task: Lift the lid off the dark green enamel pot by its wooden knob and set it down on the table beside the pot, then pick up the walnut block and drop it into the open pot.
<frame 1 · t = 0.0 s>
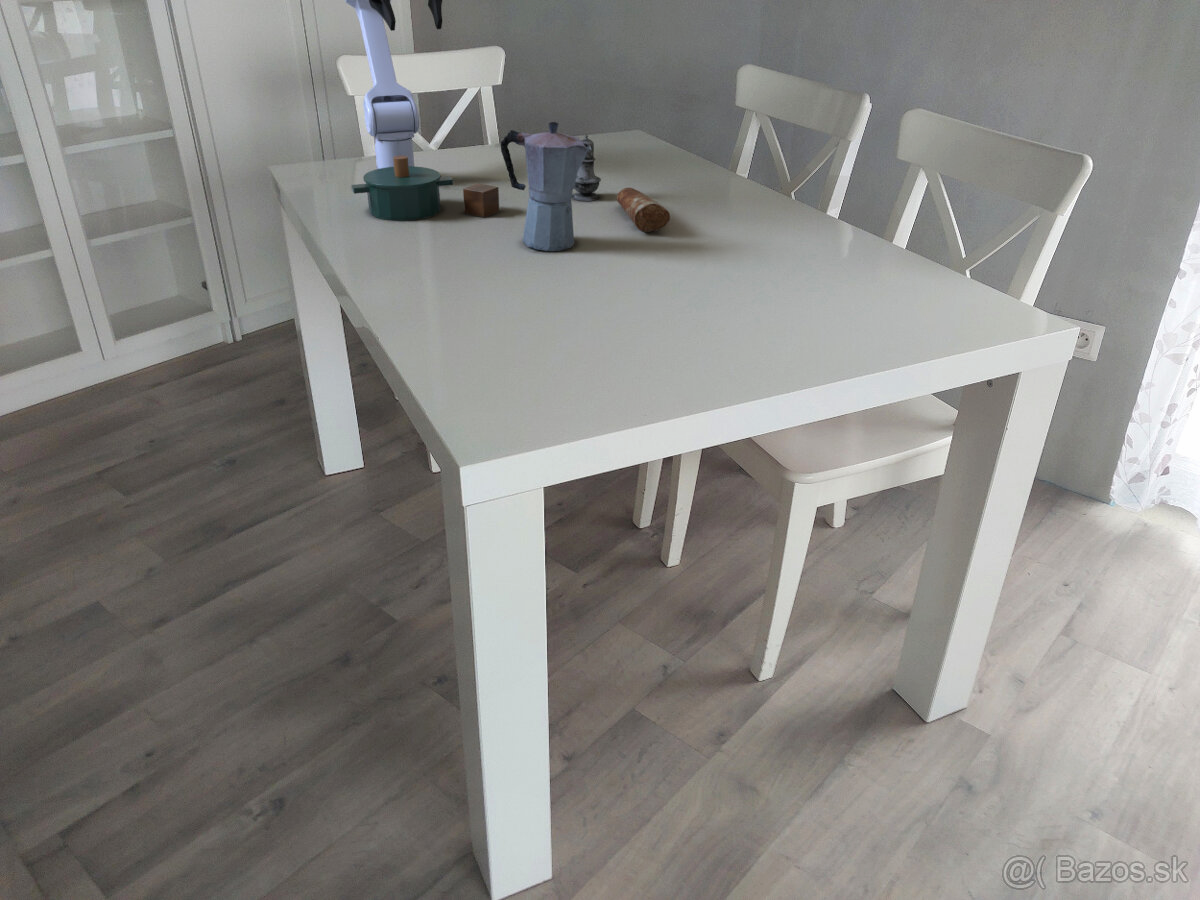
hand: (416, 25, 152), 32 cm above the table, tool tilted 50°, fingers open, 7 cm apart
pot: (405, 210, 174), on the table
moka pot: (546, 244, 159), on the table
salt shaker: (585, 198, 183), on the table
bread: (635, 221, 171), on the table
block: (481, 212, 173), on the table
lid: (402, 178, 171), point 6 cm above the table, touching pot
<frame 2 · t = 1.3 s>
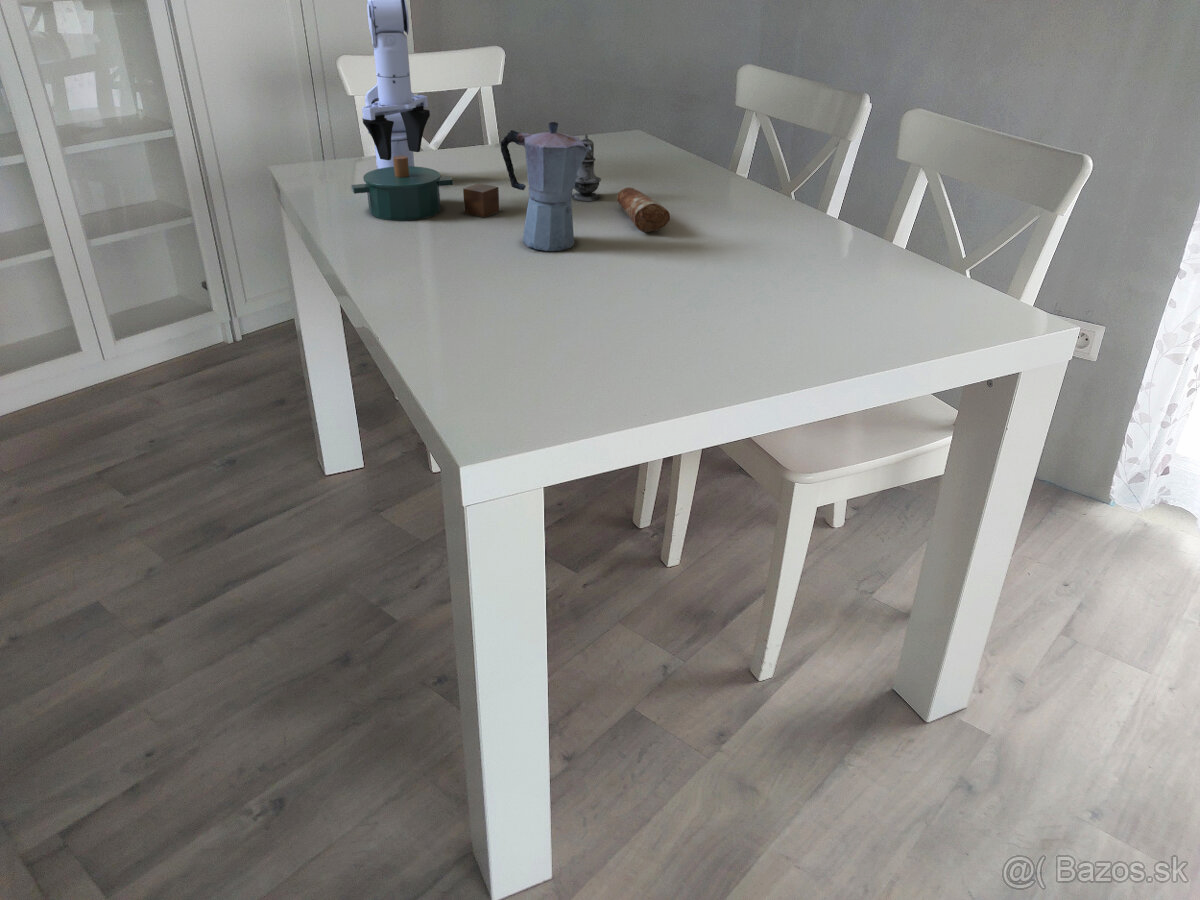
hand: (400, 155, 168), 10 cm above the table, tool pointing down, fingers open, 7 cm apart
nothing on the table moved.
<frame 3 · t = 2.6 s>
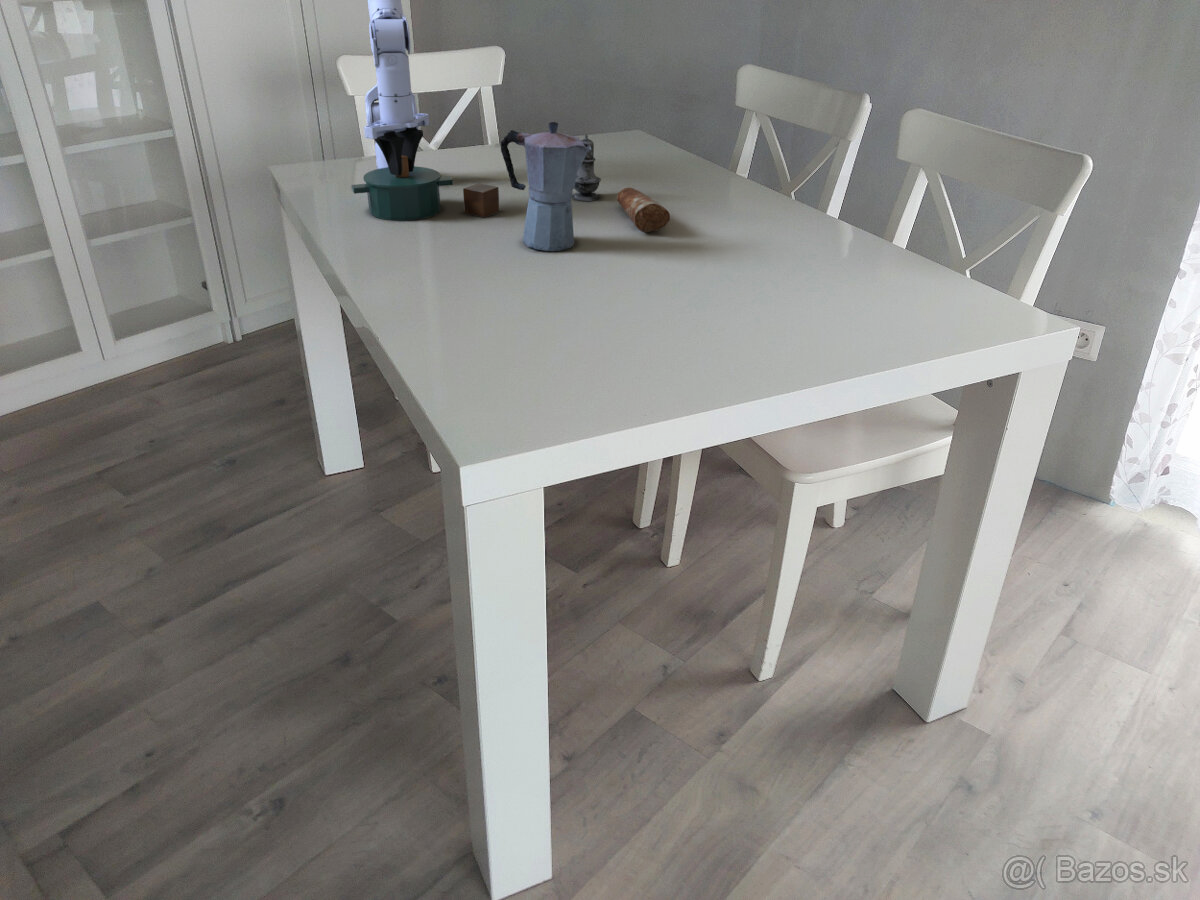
hand: (401, 172, 170), 7 cm above the table, tool pointing down, fingers closed on lid, 2 cm apart
lid: (402, 178, 171), point 6 cm above the table, touching gripper, pot
everything else where it was.
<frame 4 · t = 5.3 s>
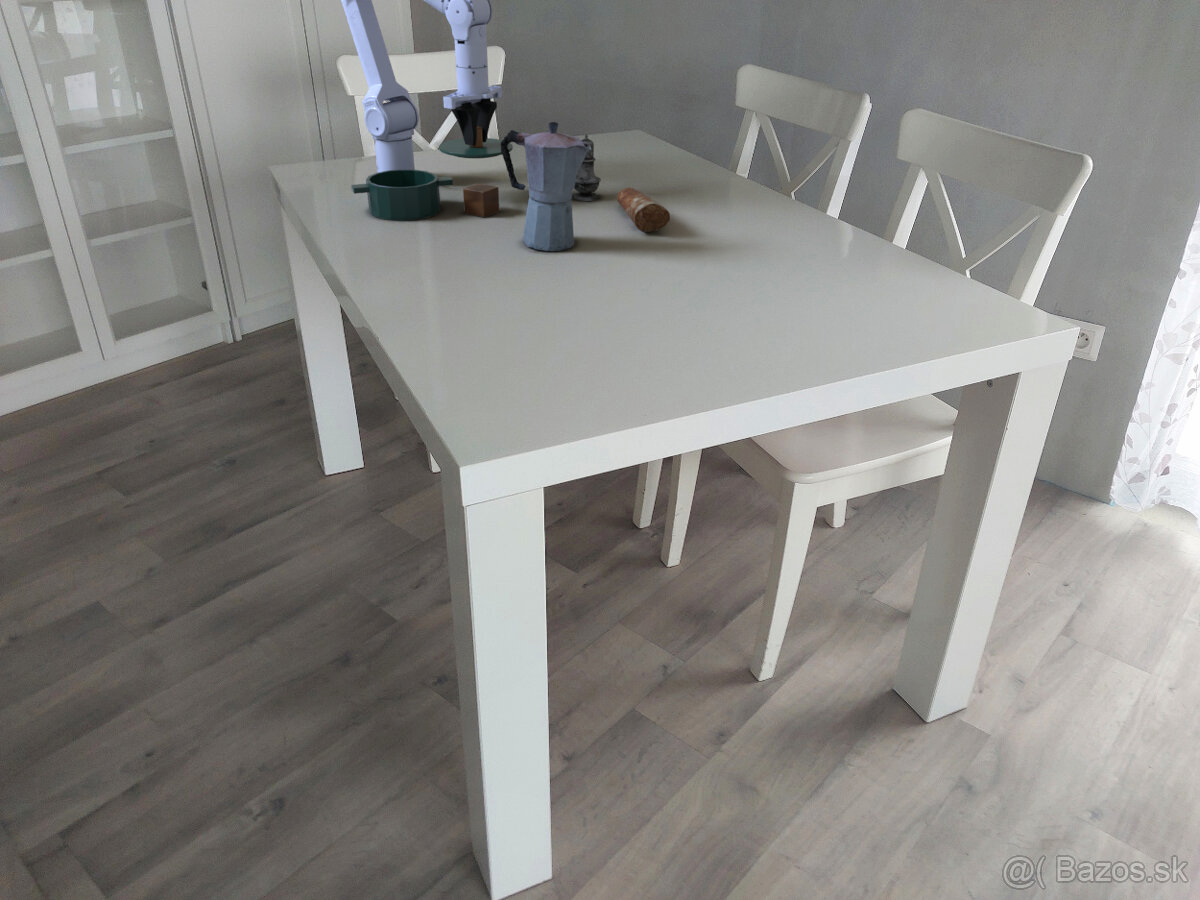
hand: (475, 143, 176), 10 cm above the table, tool pointing down, fingers closed on lid, 2 cm apart
lid: (476, 148, 177), point 9 cm above the table, touching gripper
everything else where it was.
when the fingers open (2 cm above the table, at t = 7.9 s): lid stays where it is, point 1 cm above the table.
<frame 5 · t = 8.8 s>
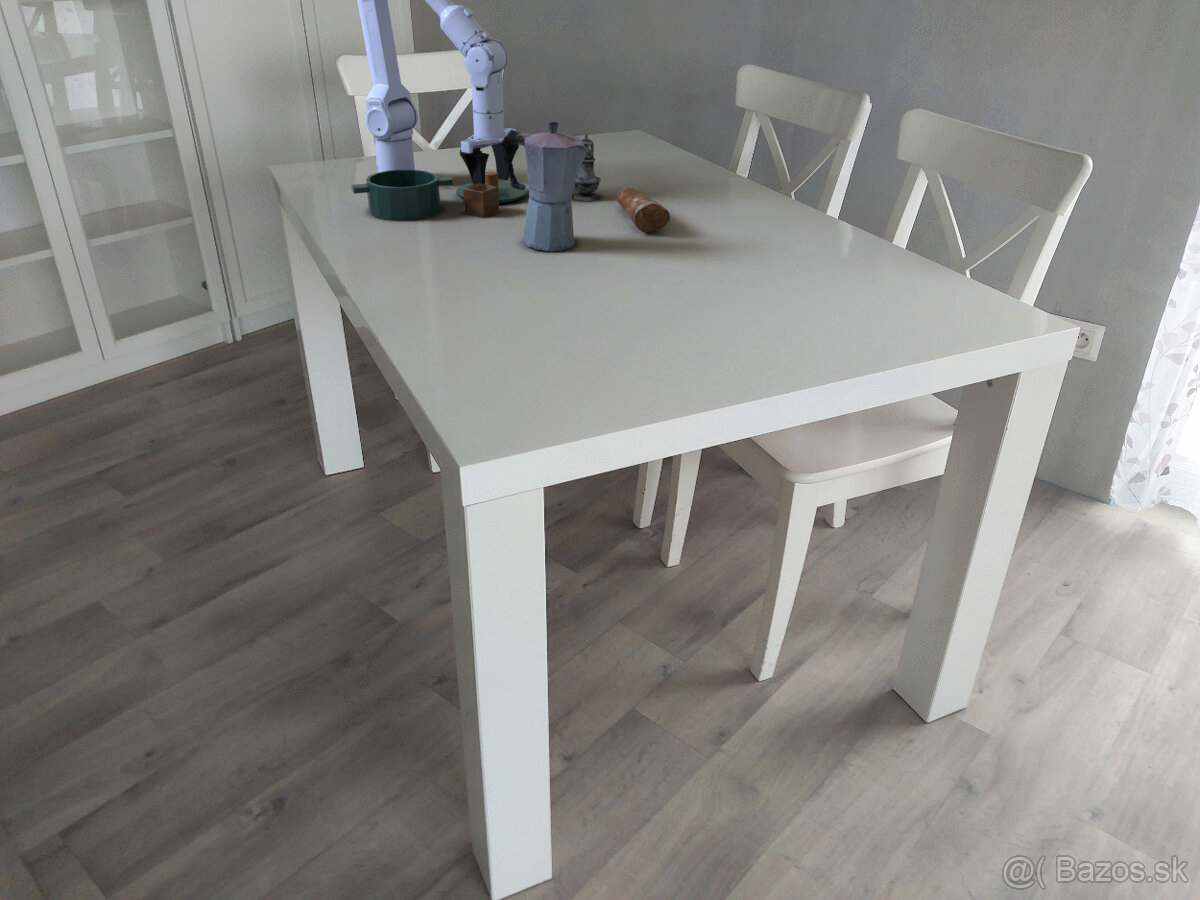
hand: (491, 183, 182), 2 cm above the table, tool pointing down, fingers open, 7 cm apart
lid: (492, 192, 183), point 1 cm above the table
everything else where it was.
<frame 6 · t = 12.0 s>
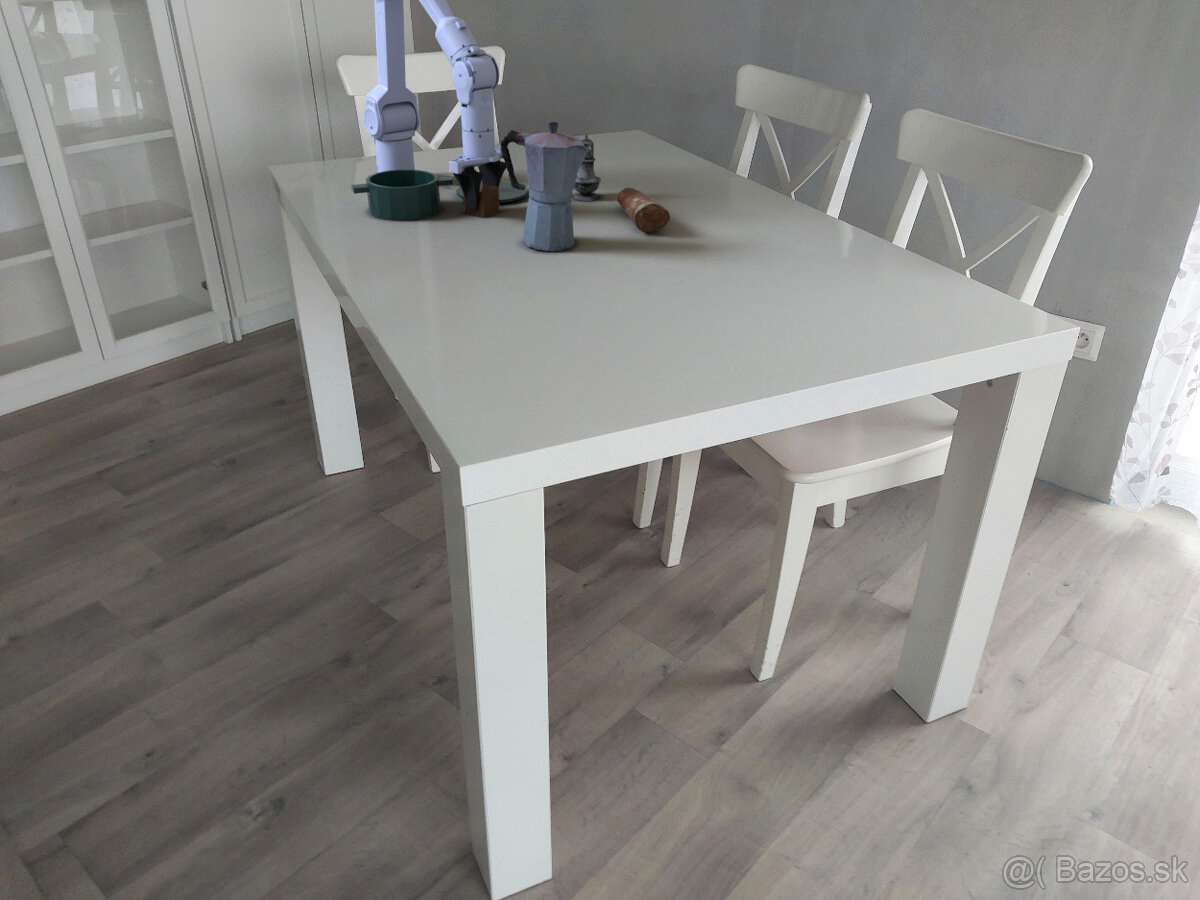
hand: (481, 204, 173), 1 cm above the table, tool pointing down, fingers closed on block, 4 cm apart
block: (482, 212, 173), on the table, touching gripper
everything else where it was.
when the fingers open (6 cm above the table, at t = 16.8 s): block drops 5 cm, resting on pot.
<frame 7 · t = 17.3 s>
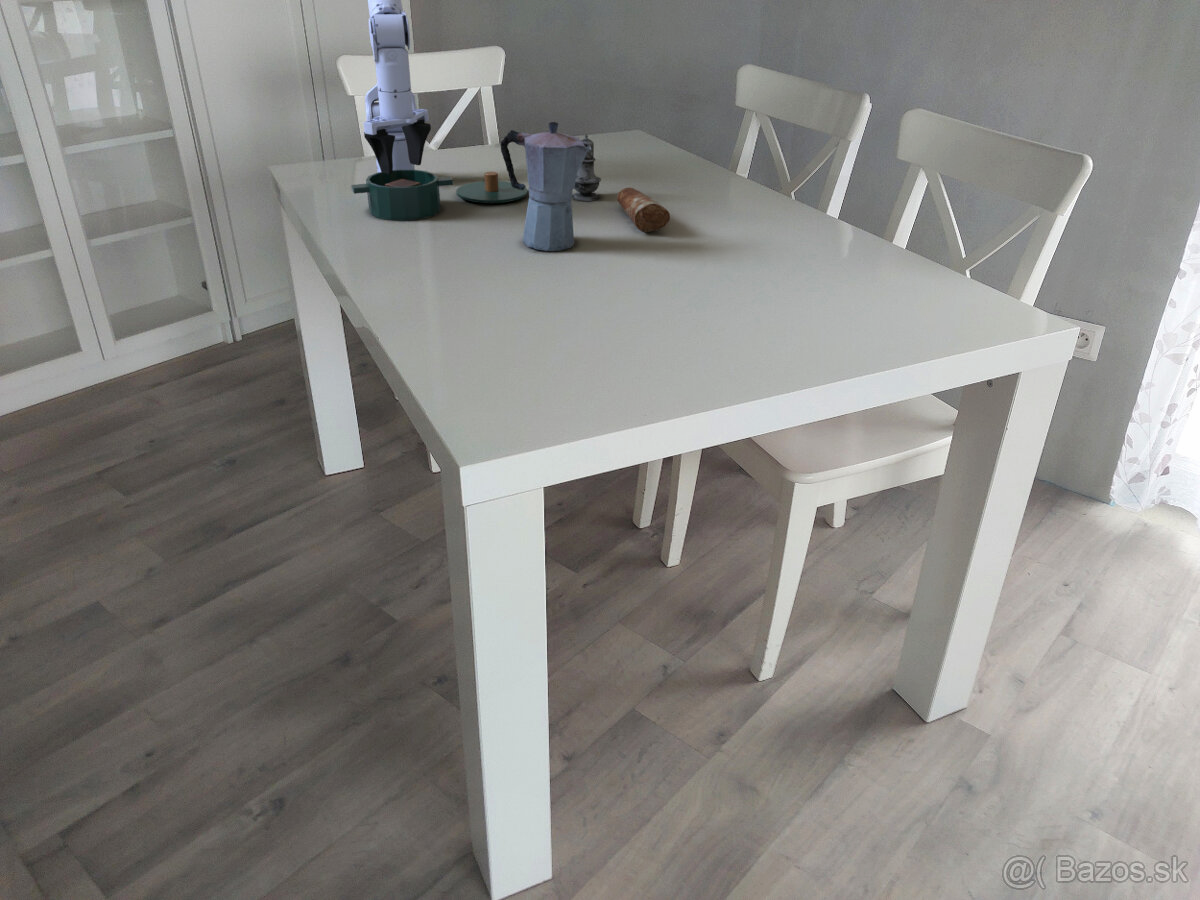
hand: (401, 168, 170), 8 cm above the table, tool pointing down, fingers open, 7 cm apart
block: (404, 208, 173), resting on pot
everything else where it was.
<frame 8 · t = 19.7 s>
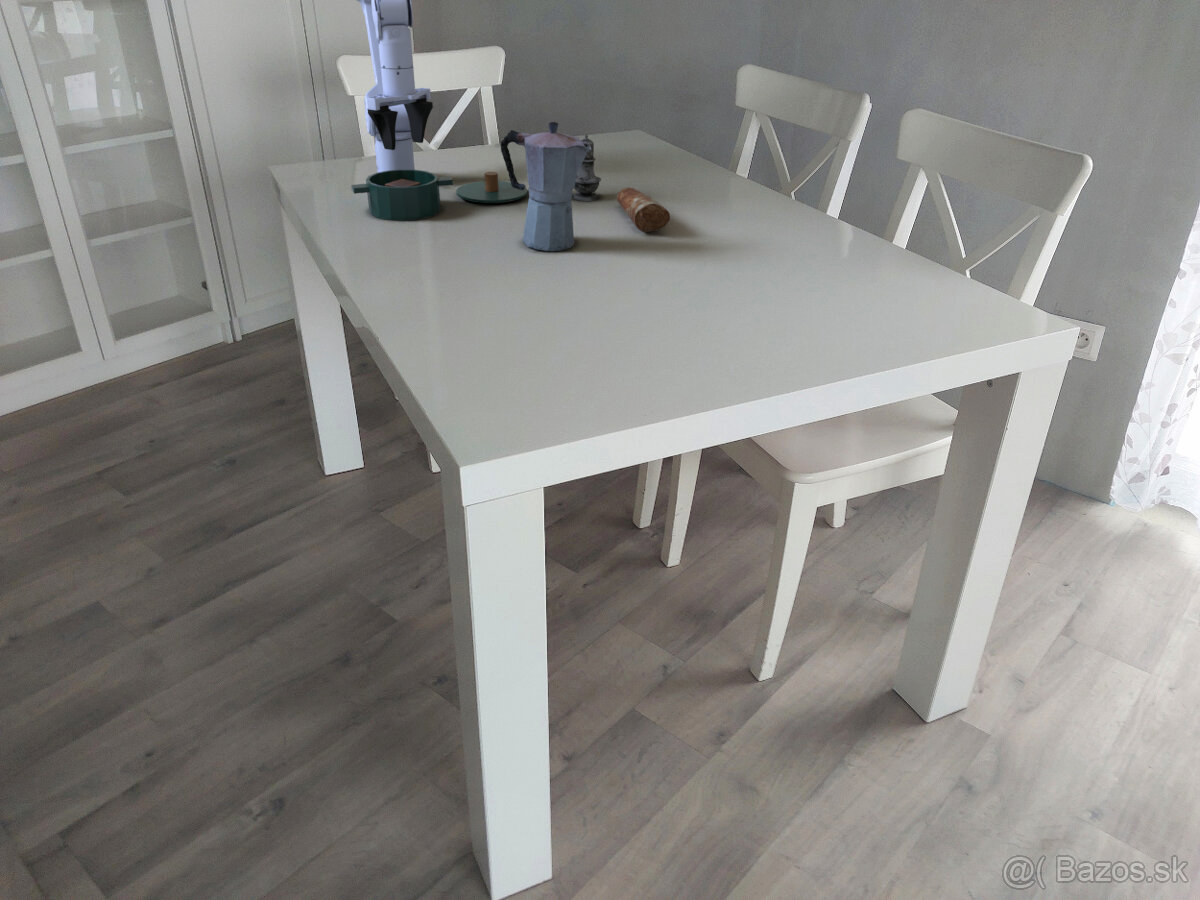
hand: (404, 145, 173), 10 cm above the table, tool pointing down, fingers open, 7 cm apart
nothing on the table moved.
at the end: lid inside the target area (0.1 cm from its centre), point 0.6 cm above the table; lid tilted 0°; block inside the target area in the pot (0.0 cm from its centre), point 0.4 cm above the pot's base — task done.
